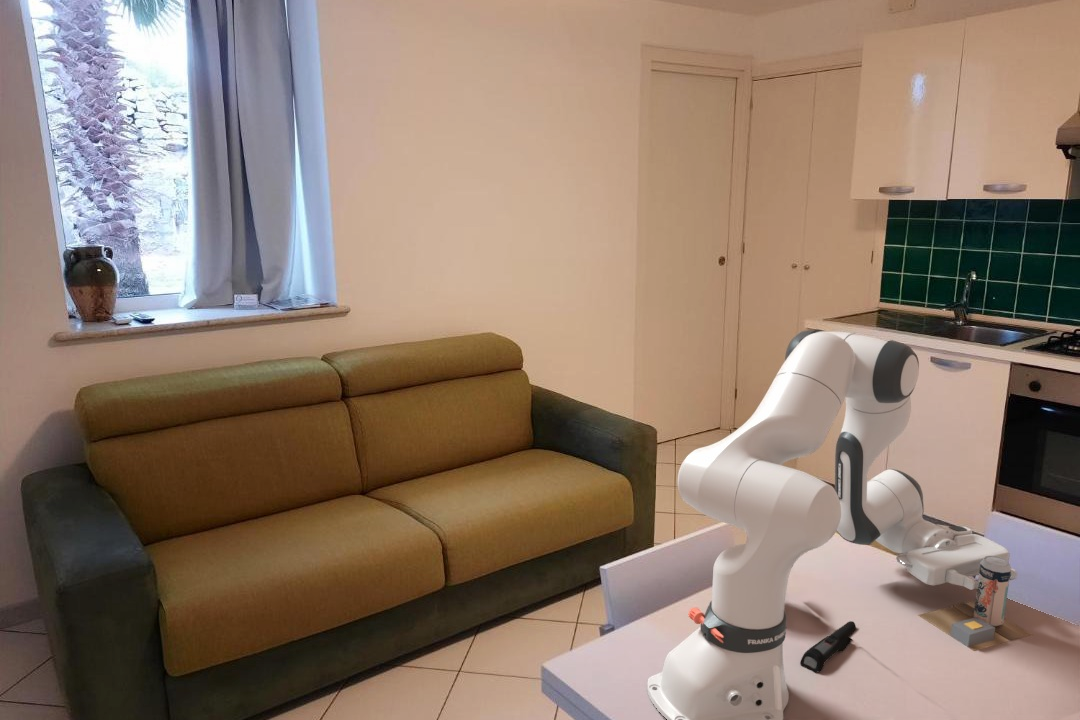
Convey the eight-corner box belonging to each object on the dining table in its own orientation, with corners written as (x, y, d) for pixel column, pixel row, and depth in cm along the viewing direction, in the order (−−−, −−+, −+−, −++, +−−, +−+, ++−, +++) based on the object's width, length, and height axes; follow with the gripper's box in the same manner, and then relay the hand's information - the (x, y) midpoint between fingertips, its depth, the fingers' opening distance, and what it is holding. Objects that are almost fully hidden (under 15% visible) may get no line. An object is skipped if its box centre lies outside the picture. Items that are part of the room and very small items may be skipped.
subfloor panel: (972, 658, 130) (974, 649, 129) (916, 622, 141) (917, 614, 140) (1031, 641, 134) (1032, 633, 134) (972, 608, 145) (973, 600, 145)
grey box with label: (968, 647, 130) (969, 633, 130) (950, 635, 134) (952, 622, 133) (993, 639, 132) (995, 626, 132) (975, 629, 136) (977, 616, 135)
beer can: (968, 613, 140) (976, 554, 138) (994, 614, 140) (1003, 554, 137) (980, 627, 136) (989, 566, 133) (1008, 628, 135) (1017, 567, 133)
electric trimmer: (861, 640, 136) (863, 624, 135) (818, 676, 126) (820, 659, 125) (841, 632, 138) (843, 616, 138) (798, 665, 128) (799, 649, 128)
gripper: (892, 541, 144) (953, 575, 132) (971, 525, 151) (1037, 555, 138) (889, 571, 146) (949, 607, 133) (968, 553, 153) (1032, 586, 140)
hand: (995, 580), depth 136 cm, fingers open, 8 cm apart
